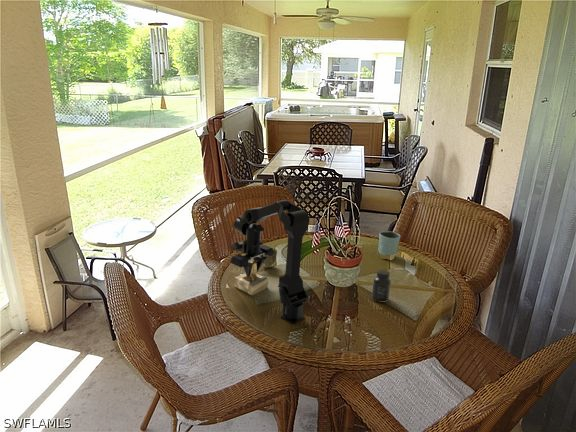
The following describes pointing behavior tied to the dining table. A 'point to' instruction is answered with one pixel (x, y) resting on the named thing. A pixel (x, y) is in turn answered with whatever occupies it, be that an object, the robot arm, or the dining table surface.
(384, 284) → the supplement bottle
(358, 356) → the dining table surface
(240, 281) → the jig
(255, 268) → the gold metal cylinder
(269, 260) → the cup
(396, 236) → the teal plant pot
